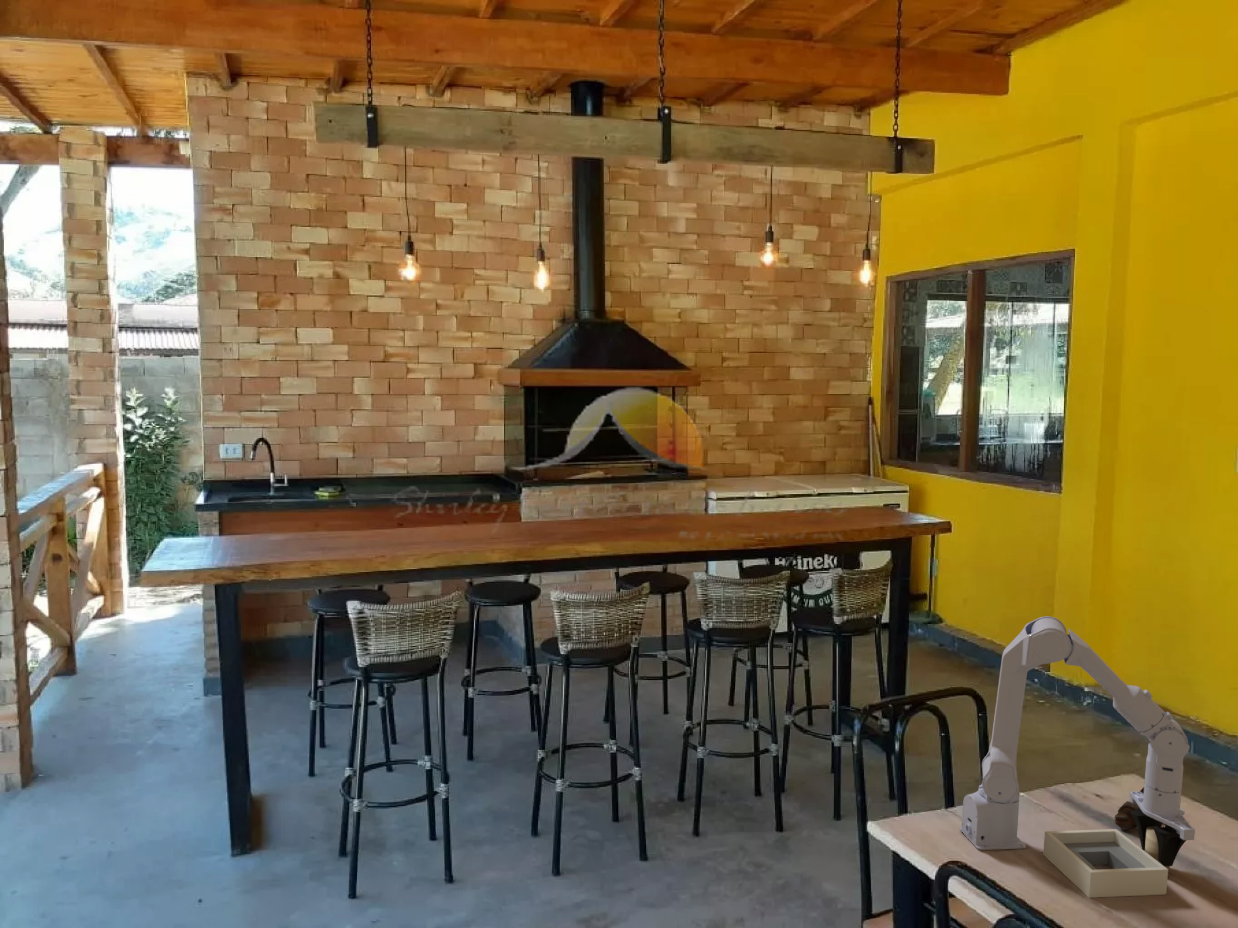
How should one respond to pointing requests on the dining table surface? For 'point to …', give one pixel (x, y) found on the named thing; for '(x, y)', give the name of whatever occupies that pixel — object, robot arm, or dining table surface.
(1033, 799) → the dining table surface
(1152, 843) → the peg
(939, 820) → the dining table surface
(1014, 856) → the dining table surface
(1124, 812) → the bolt
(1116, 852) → the box
